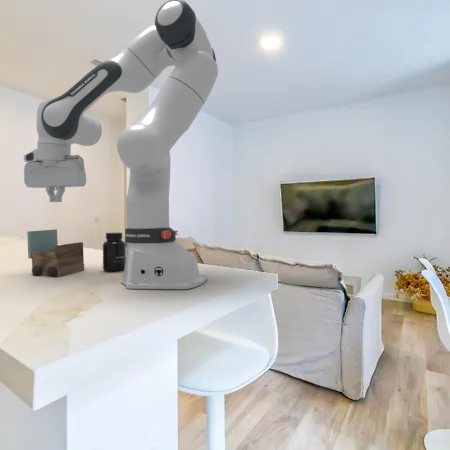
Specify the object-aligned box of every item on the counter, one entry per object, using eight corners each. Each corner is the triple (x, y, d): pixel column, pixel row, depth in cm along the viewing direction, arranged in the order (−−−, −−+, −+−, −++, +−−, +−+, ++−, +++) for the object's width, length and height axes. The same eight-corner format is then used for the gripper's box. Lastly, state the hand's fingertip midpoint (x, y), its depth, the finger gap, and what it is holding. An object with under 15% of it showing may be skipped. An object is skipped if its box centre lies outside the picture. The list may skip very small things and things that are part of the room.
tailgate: (57, 253, 101) (57, 229, 101) (31, 258, 92) (29, 231, 91) (54, 253, 102) (53, 229, 101) (26, 258, 92) (25, 231, 92)
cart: (85, 269, 99) (84, 241, 99) (56, 277, 88) (55, 246, 88) (61, 268, 102) (60, 241, 102) (30, 275, 91) (28, 245, 90)
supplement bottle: (121, 272, 94) (120, 233, 94) (99, 272, 94) (98, 233, 94) (129, 268, 101) (128, 231, 100) (108, 268, 101) (107, 232, 101)
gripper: (90, 156, 94) (91, 202, 94) (37, 159, 99) (38, 202, 100) (75, 152, 88) (76, 201, 88) (19, 156, 93) (20, 202, 94)
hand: (55, 202), depth 94 cm, fingers closed
